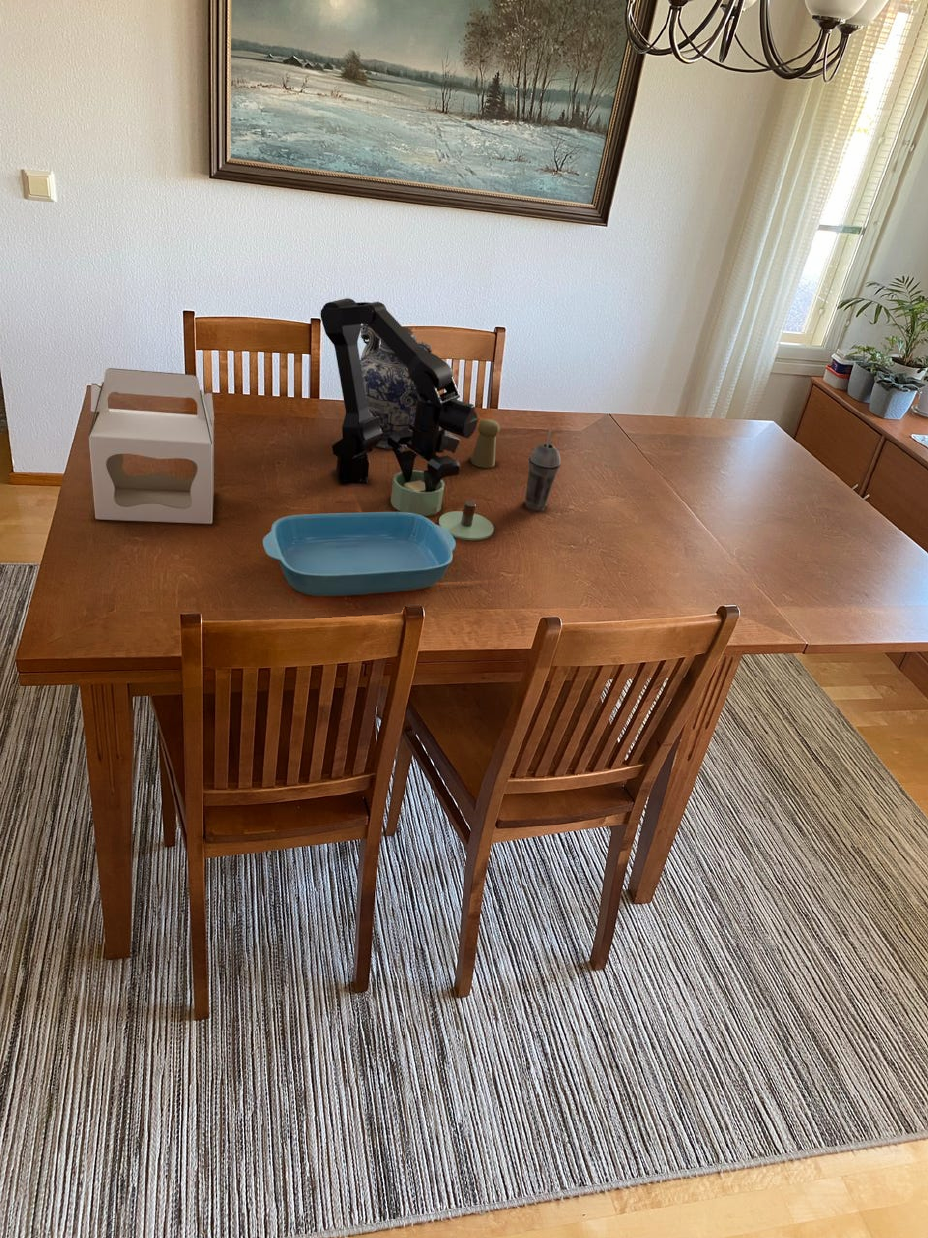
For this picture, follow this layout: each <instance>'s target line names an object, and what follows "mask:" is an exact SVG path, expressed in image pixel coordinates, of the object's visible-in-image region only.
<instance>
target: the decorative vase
mask: <svg viewBox="0 0 928 1238" xmlns="http://www.w3.org/2000/svg"><path fill="white" fill-rule="evenodd" d="M402 327H403V328H404V329H405V330H406V331H407V332H408V333H409V334H410V336H411V337H412V338H413V339H414V340H415V341H416V342H417V337H416V335H414V331H413V330H411V329H410V328H408V327H404V326H402ZM360 338H361V340H362V341H363V343H364V344H366V345H365V346H364V348H363V350H362V353H361V355H360V363H361V369H362V375H363V381H364V387H365V393H366V399H367V405H368V409H369V411H370V412H371V414H372V415H373V416H374V417H375V416H379V419H380V428H381V431H382V434H380V435H381V439H380V442H379V443H378V444H377V445H376V446H375V447H376V448H381V449H387V450H392V449H393V448H392V447H391V446H389V445H388V444H387V442H388V436H389V435H390V434H391V433H392V432H395V431H401V430H407V429H408V430H410V429H409V424H413V423H414V418H415V410H416V403H417V400H416V399H414V398H411V397H409V396H408V393H410V392H412V391H413V390H415V388H416V386H415V384H414V383H413V381H412V380H411V378H410V376H409V373H408V369H407V367H406V366H405V364H404V363H403V362H402V361H401V359H400V358H399V357H398V356H397V355H396V354H395V353H394V352H393V351H392V350H391V349H390V348H389V347H388V346H387V344H386V343H385V342H384V341H383V340H382V339H381V338H380V337H379V336H378V335H377V334H376V333H375V332H374V331H373V330H372V328H371V327H370V326H369V325H368V324H361V330H360ZM417 343H418V344H419V345H420V346H421V347H422V348H423V349H424V350H426V351H428V352H430V353H432V352H433V350H432V349H431V345H429V344H428V343H427V342H424V341H420V342H417ZM410 431H411V430H410Z"/></svg>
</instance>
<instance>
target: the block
mask: <svg viewBox="0 0 928 1238" xmlns="http://www.w3.org/2000/svg"><path fill="white" fill-rule="evenodd" d="M404 488H406V489H409V490H412V491H417V492H426V491H425V483H423V482H422V481H421V480H419V481H414V482H409V483H405V484H404Z"/></svg>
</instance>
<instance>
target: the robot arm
mask: <svg viewBox="0 0 928 1238" xmlns="http://www.w3.org/2000/svg"><path fill="white" fill-rule="evenodd" d="M319 314H320V321H321V324H322V326H323V330H324V333H325V335H326V336H327V338H328V339H329V341H330V343H332V346H333V347H334V351H335V357H336V363H337V368H338V374H339V380H340V387H341V391H342V392H341V393H342V397H343V403H344V409H345V415H344V419H343V422H342V426H341V434H342V435H341V436H342V438H341V439H340V440H338V441H337V442H335V443H333V444H332V445H331V449H332V454H333V456H335V457H336V468H335V469H333V473H334V475H335V477H336V480H337V481H338V483H339V484H340V485H359V484H362V485H363V484H366V485H367V484H368V480H367V478H368V477H369V469H370V460H369V458H368V457H369V455H368V453H372V452H373V450H374V448H375V447H377V446H376V445H377V444H378V443H379V442H380V439H381V435H380V434H382V431H381V428H380V419H379V416H375V417H374V416H373V415H372V414H371V412H370V411H369V409H368V405H367V399H366V393H365V387H364V381H363V375H362V369H361V363H360V360H361V355H360V351H359V345H358V344H359V343H358V342H359V341H358V340H359V337H360V335H361V325H363V324H368V325H369V326H370V327H371V328H372V330H373V331H374V332H375V333H376V334H377V335H378V336H379V337H380V338H381V339H382V340H383V341H384V342H385V343H386V344H387V346H388V347H389V348H390V349H391V350H392V351H393V352H394V353H395V354H396V355H397V356H398V357H399V358H400V359H401V361H402V362H403V363H404V364H405V366H406V367H407V369H408V373H409V376H410V378H411V380H412V381H413V383H414V384H415V386H416V388H415V390H413V391H412V392H410V393H408V396H409V397H411V398H414V399H416V400H417V403H416V410H415V418H414V423H413V424H409V429H410V430H408V429H407V430H401V431H395V432H392V433H391V434H390V435H389V436H388V442H387V444H388V445H389V446H391V447H392V448H393V449H391V450H392V452H393V453H394V455H395V457H396V460H397V462H398V465H399V468H400V470H401V471H400V472H402V473H403V476H404V479H405V481H406V482H409V481H410V480H411V476H412V471H413V470H414V465H415V460H416V457H417V456H418V457H419V458H421V459H424V460H425V461H427V465H426V469H425V470H423V471H424V480H425V491H426V492H433V491H435V489H436V487H437V485H438V484H439V482H440V481H441V479H442V480H443V479H444V478H449V477H452V476H457V475H459V474H460V470H461V469H460V468H461V464H460V463H459V461H457V460H456V459H454V458H452V457H451V456H450V455H442V456H439V455H437V453H438V454H442V453H443V454H444V450H445V451H447V452H451V453H452V454H455V453H456V452H457V449H458V447H459V445H460V442H461V439H460V438H458V437H457V436H459V437H462V438H465V439H469V438H470V437H471V436H472V435H473V434H474V433H475V431H476V428H477V427H478V426H477V425H478V422H479V418H478V414H477V412H476V411H475V409H476V405H475V404H473V403H470V402H469V403H468V402H464V401H461V400H459V399H460V398H461V395H460V392H459V390H458V387H457V384H456V382H455V380H454V377H453V370H452V368H451V365H449V364H448V363H447V362H446V361H444V360H443V359H442V358H441V357H439V356H438V355H437V354H434V353H432V352H431V353H430V352H428V351H426V350H424V349H423V348H422V347H421V346H420V345H419V344H418V343H419V342H417V341H415V340H414V339H413V338H412V337H411V336H410V334H409V333H408V332H407V331H406V330H405V329H404V328H403V327H404V326H403V325H401V323H399V321H397V319H396V318H395V317H394V316H393V314H391V313H390V312H389V311H388V309H387V307H386V305H385V304H383V302H381V301H374V302H368V301H363V302H362V301H361V302H356V301H355V300H354V299H352V298H350V297H349V298H348V297H346V298H341V299H337V300H333V301H329V302H326V303H324V304H323V306H322V308H321V309H320V313H319ZM442 390H444V391H445V392H443V393H440V394H439V393H438V392H440V391H442ZM455 435H457V436H455Z"/></svg>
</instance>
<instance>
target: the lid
mask: <svg viewBox="0 0 928 1238" xmlns="http://www.w3.org/2000/svg"><path fill="white" fill-rule="evenodd" d="M476 505H477V504H476V503H475V502H474V501H471V500H466V501H464V503H463V508H462V510H454V511H448V512H445V513H443V514H441V516H440V517H439V518H438V526H440V527H442V528H444V529H446V530H447V531H448V532H449V533H450V534H451V535H452V536H453V538H456V539H459V540H464V541H482V540H483V541H484V540H486V539H488V538H490V537H491V536H492V535H493V534H494V527H495V526H494V525H493V523H492V521H490V520H489V519H488V518H486V517H485V516H483V515H481V514H478V513H475V511H476Z"/></svg>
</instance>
